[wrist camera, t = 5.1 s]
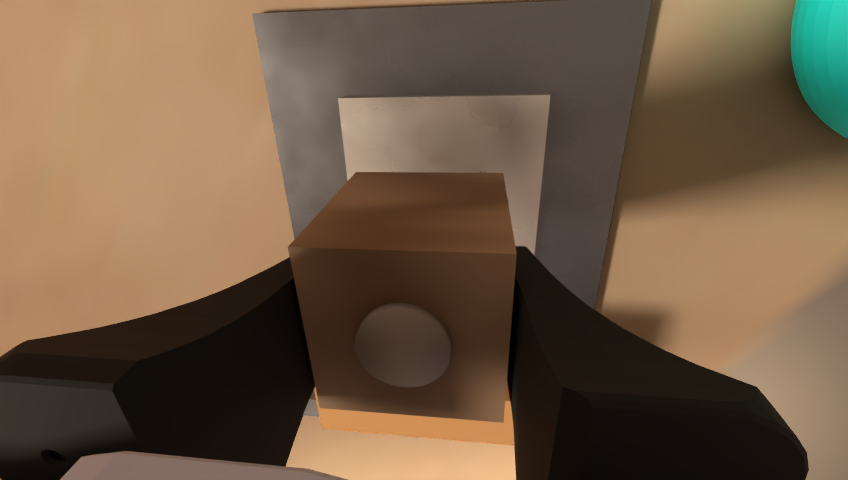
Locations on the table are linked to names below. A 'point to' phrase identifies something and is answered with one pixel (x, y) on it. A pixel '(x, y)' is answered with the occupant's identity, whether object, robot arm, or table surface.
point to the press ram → (415, 424)
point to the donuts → (822, 59)
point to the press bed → (464, 109)
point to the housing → (410, 294)
